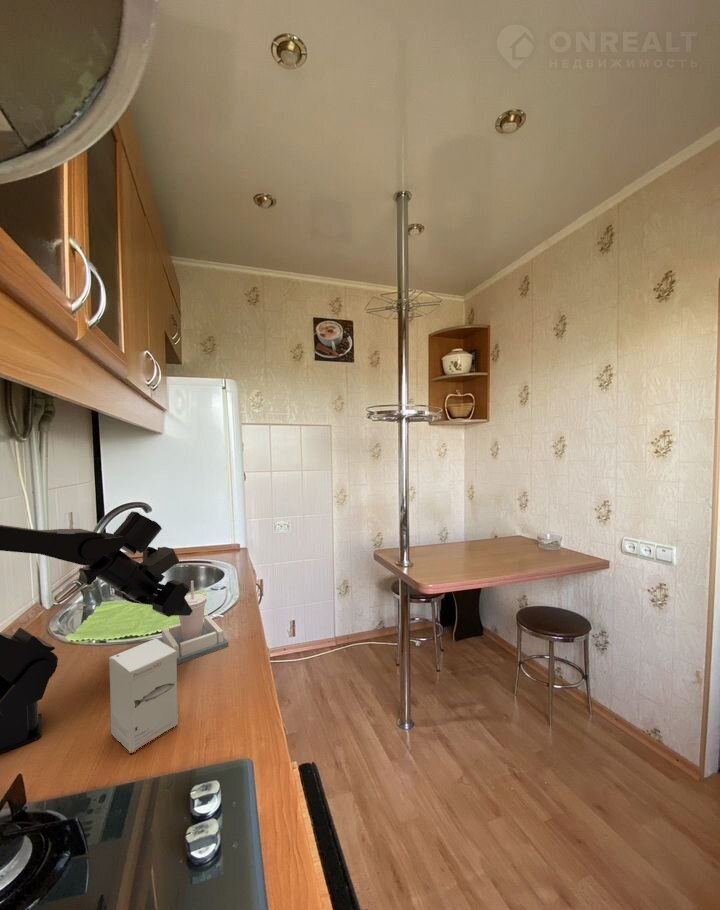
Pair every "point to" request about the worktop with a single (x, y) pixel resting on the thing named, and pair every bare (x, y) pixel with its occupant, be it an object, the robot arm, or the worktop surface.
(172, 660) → the supplement box
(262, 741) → the worktop surface
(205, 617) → the bottle holder
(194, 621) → the smoothie
